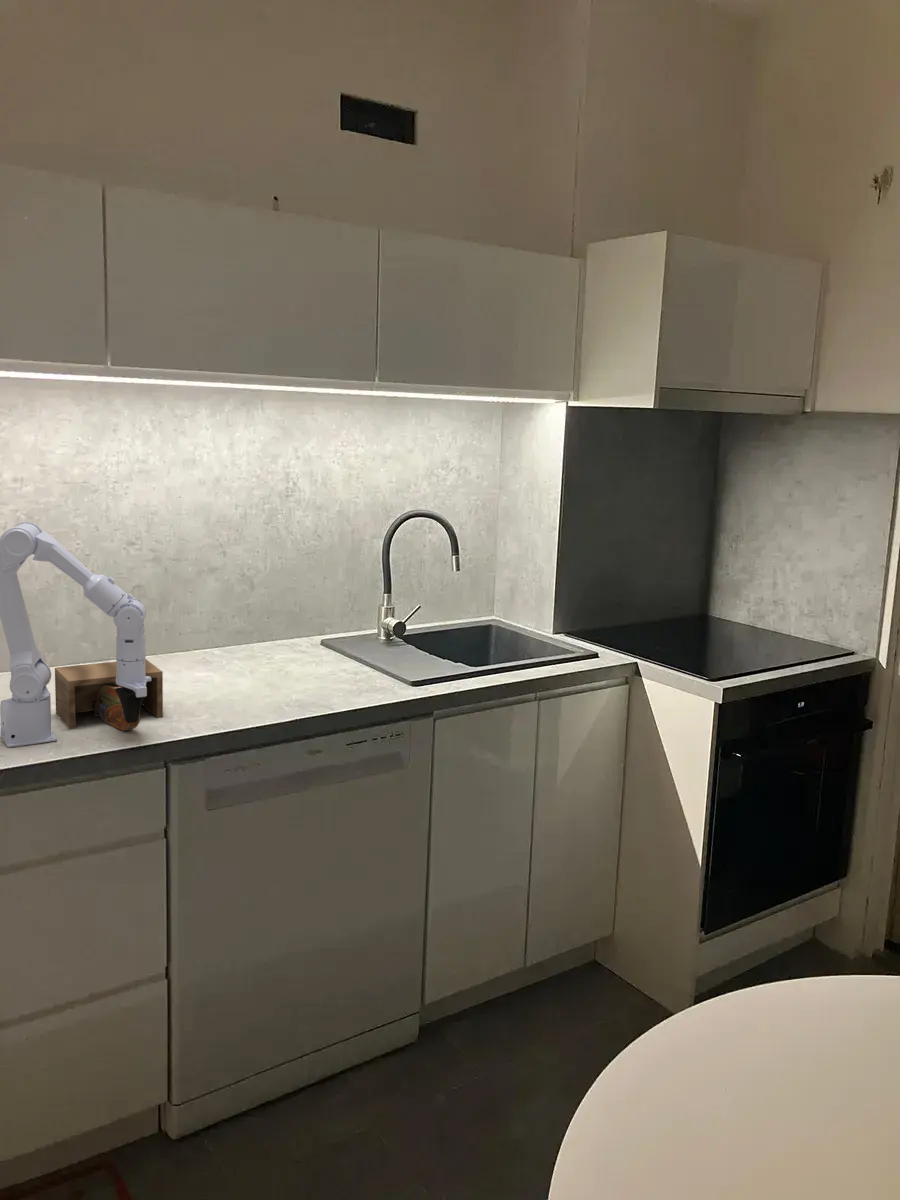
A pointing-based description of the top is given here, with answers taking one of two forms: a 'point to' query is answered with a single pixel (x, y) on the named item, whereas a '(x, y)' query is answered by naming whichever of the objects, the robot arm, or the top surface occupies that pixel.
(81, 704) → the shelf
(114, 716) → the tin
